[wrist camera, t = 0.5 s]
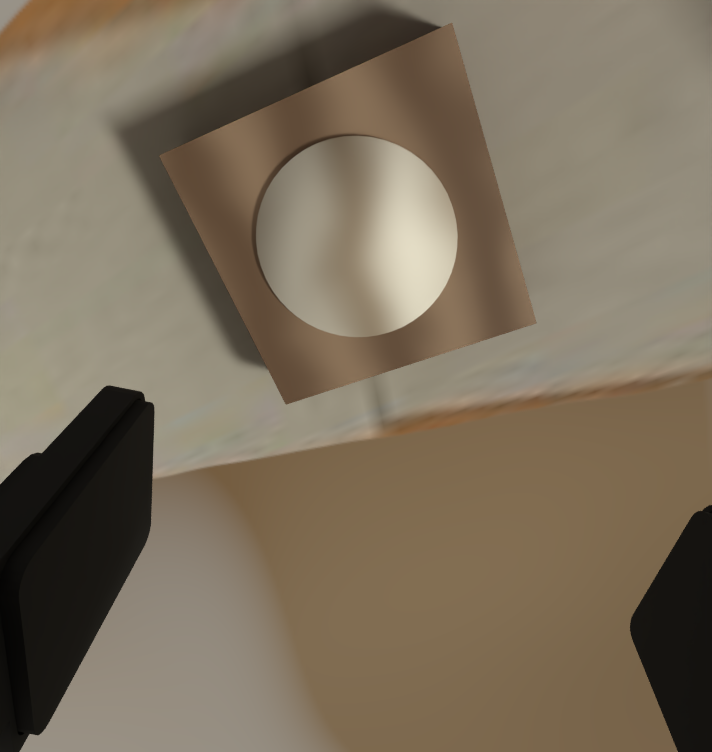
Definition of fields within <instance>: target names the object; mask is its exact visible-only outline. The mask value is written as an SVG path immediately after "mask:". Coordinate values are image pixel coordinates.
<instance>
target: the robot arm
mask: <svg viewBox="0 0 712 752" xmlns="http://www.w3.org/2000/svg"><path fill="white" fill-rule="evenodd" d="M153 440H154V405H153V403H151V402H146V401H145V397H144V394H143V393H142V392H140V391H135V390H130V389H125V388H119V387H114V386H106V387H104V388H103V389H102V390H101V391H100V392H99V393H98V394H97V395H96V396H95V397H94V398H93V400H92V401H91V402H90V403H89V404H88V405H87V406H86V407H85V408H84V409H83V410H82V411H81V412H80V413H79V414H78V416H77V417H76V418H75V419H74V420H73V421H72V422H71V423H70V424H69V425H68V426H67V427H66V428H65V429H64V430H63V431H62V433H61V434H60V435H59V436H58V437H57V438H56V439H55V440H54V441H53V442H52V443H51V444H50V445H49V446H48V447H47V449H46V450H45V451H44V452H43V453H35V454H31V455H30V456H29V457H27V458H26V459H25V460H24V461H23V462H22V463H21V464H20V465H19V466H18V467H17V468H16V469H15V470H14V471H13V472H12V473H11V474H10V475H9V476H8V477H7V478H6V479H5V480H4V481H3V482H2V483H1V484H0V752H19V751H20V750H21V748H22V746H23V744H24V742H25V741H26V739H27V737H28V735H29V734H34V735H39V734H41V733H42V732H43V730H44V729H45V728H46V726H47V725H48V723H49V721H50V719H51V718H52V716H53V714H54V712H55V710H56V708H57V707H58V705H59V703H60V701H61V699H62V697H63V695H64V694H65V692H66V690H67V687H68V686H69V684H70V683H71V681H72V679H73V677H74V675H75V673H76V671H77V670H78V668H79V665H80V664H81V662H82V660H83V658H84V656H85V655H86V653H87V651H88V649H89V647H90V646H91V644H92V642H93V640H94V638H95V636H96V634H97V632H98V631H99V629H100V627H101V625H102V623H103V621H104V619H105V618H106V616H107V614H108V612H109V610H110V608H111V607H112V605H113V603H114V601H115V599H116V597H117V596H118V593H119V592H120V590H121V588H122V586H123V584H124V583H125V581H126V579H127V577H128V575H129V573H130V571H131V570H132V568H133V566H134V564H135V562H136V560H137V558H138V557H139V555H140V553H141V551H142V549H143V547H144V546H145V543H146V541H147V538H148V535H149V531H150V526H151V504H152V472H153ZM630 631H631V636H632V639H633V642H634V645H635V647H636V650H637V652H638V655H639V657H640V659H641V662H642V664H643V667H644V669H645V672H646V674H647V677H648V679H649V682H650V684H651V687H652V689H653V691H654V694H655V696H656V698H657V701H658V704H659V706H660V708H661V711H662V714H663V716H664V718H665V721H666V723H667V726H668V728H669V731H670V733H671V736H672V738H673V741H674V743H675V745H676V747H677V750H678V752H712V505H709V506H708V507H706V508H704V510H703V511H698V512H696V513H695V514H694V515H693V516H692V517H691V519H690V520H689V522H688V524H687V525H686V527H685V529H684V530H683V532H682V534H681V535H680V537H679V539H678V540H677V542H676V544H675V546H674V547H673V549H672V550H671V552H670V554H669V555H668V557H667V559H666V561H665V562H664V564H663V566H662V567H661V569H660V570H659V572H658V574H657V576H656V577H655V579H654V580H653V582H652V584H651V586H650V587H649V589H648V590H647V592H646V594H645V595H644V597H643V599H642V600H641V602H640V604H639V606H638V607H637V609H636V611H635V612H634V614H633V616H632V618H631V623H630Z"/></svg>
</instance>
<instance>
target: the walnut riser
mask: <svg viewBox="0 0 712 752" xmlns="http://www.w3.org/2000/svg"><path fill="white" fill-rule="evenodd" d="M159 157H160V159H161V161H162V163H163V165H164V167H165V168H166V170H167V172H168V174H169V176H170V178H171V180H172V182H173V184H174V186H175V188H176V190H177V192H178V194H179V196H180V198H181V200H182V202H183V204H184V206H185V208H186V210H187V212H188V214H189V216H190V217H191V219H192V221H193V223H194V225H195V227H196V229H197V231H198V233H199V235H200V237H201V239H202V241H203V243H204V245H205V247H206V249H207V251H208V253H209V255H210V257H211V259H212V261H213V263H214V265H215V266H216V268H217V270H218V272H219V274H220V276H221V278H222V280H223V282H224V284H225V286H226V288H227V290H228V292H229V294H230V296H231V298H232V300H233V302H234V304H235V306H236V308H237V310H238V312H239V314H240V315H241V317H242V319H243V321H244V323H245V325H246V327H247V329H248V331H249V333H250V335H251V337H252V339H253V341H254V343H255V345H256V347H257V349H258V351H259V353H260V355H261V357H262V359H263V361H264V363H265V364H266V366H267V368H268V370H269V372H270V374H271V376H272V378H273V380H274V382H275V384H276V386H277V388H278V390H279V392H280V394H281V396H282V398H283V400H284V402H285V404H289V403H292V402H295V401H298V400H301V399H305V398H308V397H311V396H314V395H317V394H320V393H323V392H326V391H329V390H332V389H335V388H338V387H342V386H345V385H348V384H351V383H354V382H357V381H360V380H363V379H366V378H369V377H372V376H375V375H378V374H382V373H385V372H388V371H391V370H394V369H397V368H400V367H403V366H406V365H409V364H412V363H415V362H418V361H422V360H425V359H428V358H431V357H434V356H437V355H440V354H443V353H446V352H449V351H452V350H455V349H459V348H462V347H465V346H468V345H471V344H474V343H477V342H480V341H483V340H486V339H489V338H492V337H495V336H499V335H502V334H505V333H508V332H511V331H514V330H517V329H520V328H523V327H526V326H529V325H532V324H536V319H535V316H534V312H533V309H532V305H531V302H530V298H529V295H528V291H527V287H526V284H525V280H524V277H523V273H522V270H521V266H520V263H519V259H518V255H517V252H516V248H515V245H514V241H513V238H512V234H511V231H510V227H509V224H508V220H507V216H506V213H505V209H504V206H503V202H502V199H501V195H500V192H499V188H498V184H497V181H496V177H495V174H494V170H493V167H492V163H491V160H490V156H489V152H488V149H487V145H486V142H485V138H484V135H483V131H482V128H481V124H480V120H479V117H478V113H477V110H476V106H475V103H474V99H473V96H472V92H471V89H470V85H469V81H468V78H467V74H466V71H465V67H464V64H463V60H462V57H461V53H460V49H459V46H458V42H457V39H456V35H455V32H454V28H453V25H452V23H450V24H448V25H446V26H444V27H441V28H439V29H437V30H435V31H432V32H430V33H428V34H426V35H424V36H421V37H419V38H417V39H415V40H413V41H410V42H408V43H406V44H404V45H402V46H399V47H397V48H395V49H393V50H391V51H388V52H386V53H384V54H382V55H379V56H377V57H375V58H373V59H371V60H368V61H366V62H364V63H362V64H360V65H357V66H355V67H353V68H351V69H349V70H346V71H344V72H342V73H340V74H338V75H335V76H333V77H331V78H329V79H326V80H324V81H322V82H320V83H318V84H315V85H313V86H311V87H309V88H307V89H304V90H302V91H300V92H298V93H296V94H293V95H291V96H289V97H287V98H285V99H282V100H280V101H278V102H276V103H274V104H271V105H269V106H267V107H265V108H262V109H260V110H258V111H256V112H254V113H251V114H249V115H247V116H245V117H243V118H240V119H238V120H236V121H234V122H232V123H229V124H227V125H225V126H223V127H221V128H218V129H216V130H214V131H212V132H209V133H207V134H205V135H203V136H201V137H198V138H196V139H194V140H192V141H190V142H187V143H185V144H183V145H181V146H179V147H176V148H174V149H172V150H170V151H168V152H165V153H163V154H161V155H159Z"/></svg>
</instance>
